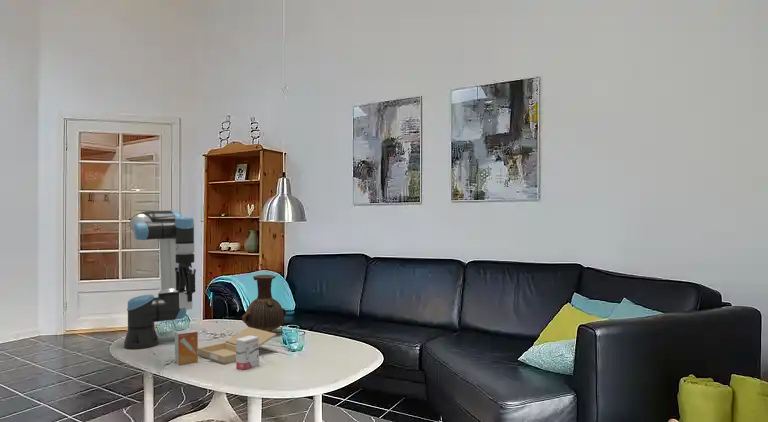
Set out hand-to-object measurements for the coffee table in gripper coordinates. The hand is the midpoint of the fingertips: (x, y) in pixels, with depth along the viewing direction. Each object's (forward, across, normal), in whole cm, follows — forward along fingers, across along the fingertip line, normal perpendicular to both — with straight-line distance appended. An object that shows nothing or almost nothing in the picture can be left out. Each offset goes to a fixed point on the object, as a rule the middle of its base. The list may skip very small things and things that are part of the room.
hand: (185, 308), depth 232 cm
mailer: (+23, +5, +15) cm, 28 cm away
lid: (+17, +5, +28) cm, 33 cm away
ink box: (+23, +26, +13) cm, 37 cm away
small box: (+23, 0, 0) cm, 23 cm away
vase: (+23, -18, +52) cm, 60 cm away
